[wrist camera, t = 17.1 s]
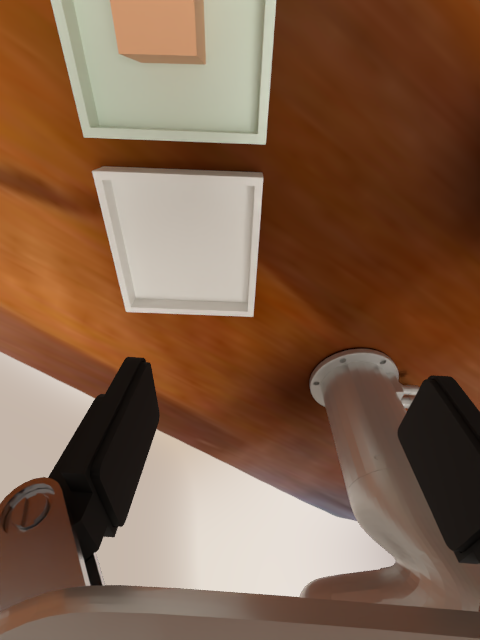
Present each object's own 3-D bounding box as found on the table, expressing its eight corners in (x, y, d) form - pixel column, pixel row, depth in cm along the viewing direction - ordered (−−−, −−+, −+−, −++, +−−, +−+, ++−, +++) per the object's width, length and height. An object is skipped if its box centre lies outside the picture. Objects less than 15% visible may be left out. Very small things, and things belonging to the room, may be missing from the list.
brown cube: (202, -34, 20) (190, -69, 16) (205, 64, 23) (197, 55, 19) (128, -36, 20) (98, -72, 16) (141, 62, 23) (118, 53, 19)
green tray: (285, -155, 17) (289, -190, 15) (264, 141, 26) (265, 144, 24) (30, -166, 17) (1, -202, 15) (96, 134, 26) (83, 137, 24)
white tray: (262, 172, 28) (263, 177, 26) (253, 305, 37) (253, 316, 35) (103, 166, 28) (92, 170, 26) (132, 300, 37) (126, 311, 35)
